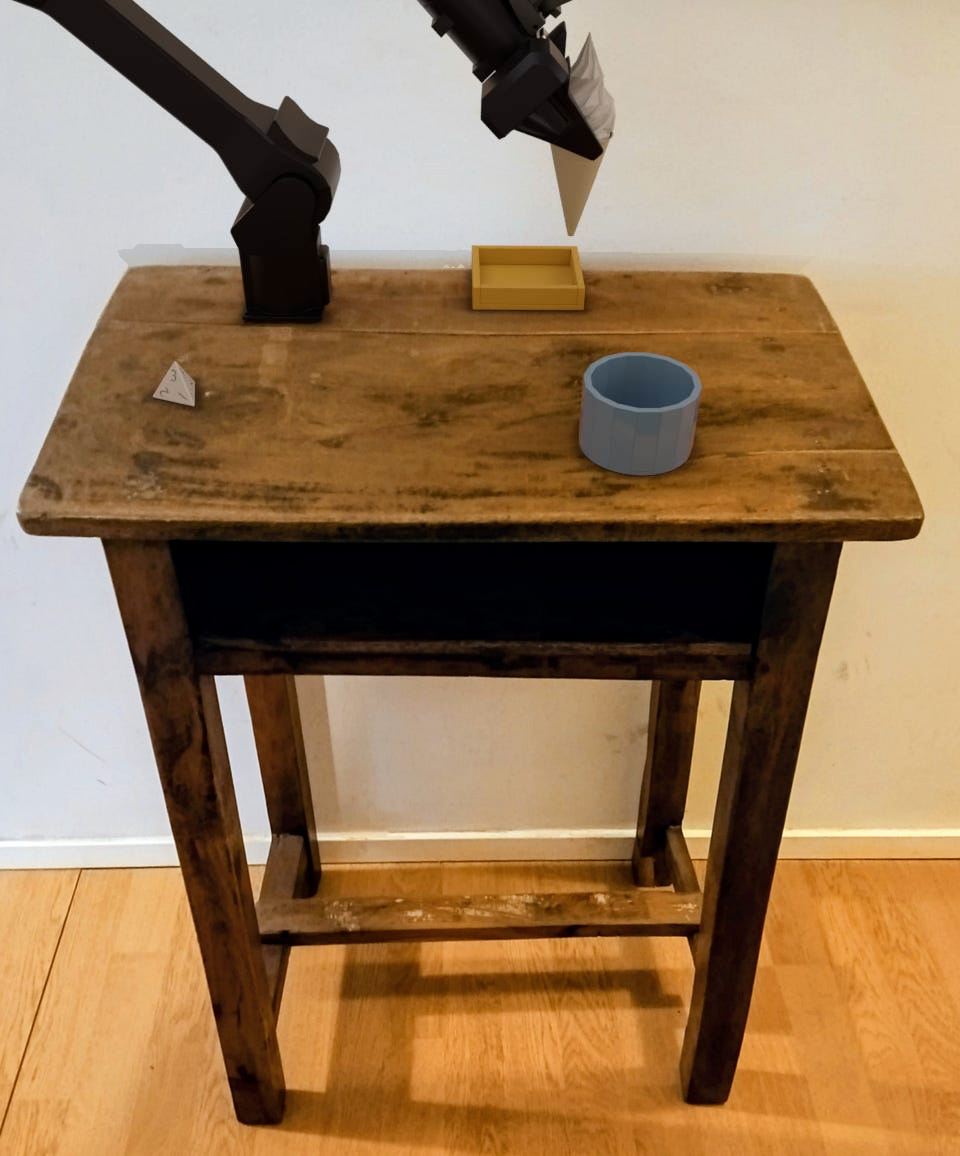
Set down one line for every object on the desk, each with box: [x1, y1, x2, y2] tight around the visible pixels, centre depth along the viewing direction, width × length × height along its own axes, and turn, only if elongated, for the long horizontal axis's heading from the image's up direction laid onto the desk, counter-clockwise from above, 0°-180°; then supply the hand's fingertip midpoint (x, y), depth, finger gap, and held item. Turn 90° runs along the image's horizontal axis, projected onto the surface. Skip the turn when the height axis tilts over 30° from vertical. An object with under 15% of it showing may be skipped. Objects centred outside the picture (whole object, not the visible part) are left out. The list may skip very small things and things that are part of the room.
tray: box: [471, 244, 586, 311], centre depth 98 cm, size 9×8×2 cm
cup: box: [578, 351, 703, 476], centre depth 79 cm, size 8×8×5 cm
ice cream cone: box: [549, 31, 617, 237], centre depth 86 cm, size 5×5×15 cm
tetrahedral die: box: [152, 360, 196, 408], centre depth 84 cm, size 4×3×3 cm
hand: (596, 143), depth 86 cm, fingers closed on ice cream cone, 5 cm apart
